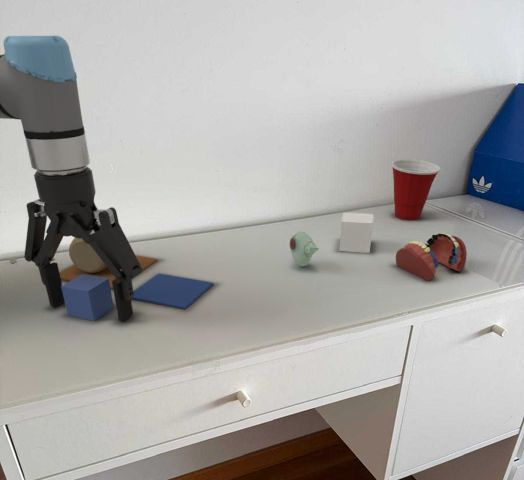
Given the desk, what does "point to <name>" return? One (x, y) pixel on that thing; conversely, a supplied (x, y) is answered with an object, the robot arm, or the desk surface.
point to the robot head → (302, 248)
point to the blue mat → (171, 291)
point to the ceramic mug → (85, 256)
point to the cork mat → (106, 273)
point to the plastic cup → (412, 186)
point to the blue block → (87, 297)
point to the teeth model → (432, 255)
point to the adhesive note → (356, 232)
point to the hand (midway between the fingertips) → (91, 310)
